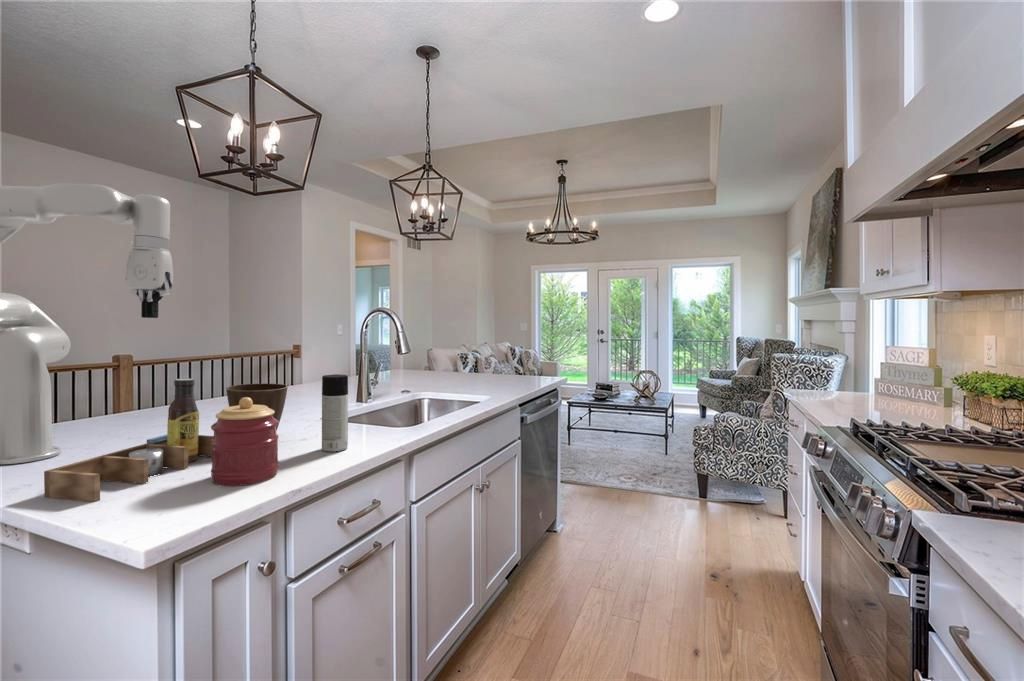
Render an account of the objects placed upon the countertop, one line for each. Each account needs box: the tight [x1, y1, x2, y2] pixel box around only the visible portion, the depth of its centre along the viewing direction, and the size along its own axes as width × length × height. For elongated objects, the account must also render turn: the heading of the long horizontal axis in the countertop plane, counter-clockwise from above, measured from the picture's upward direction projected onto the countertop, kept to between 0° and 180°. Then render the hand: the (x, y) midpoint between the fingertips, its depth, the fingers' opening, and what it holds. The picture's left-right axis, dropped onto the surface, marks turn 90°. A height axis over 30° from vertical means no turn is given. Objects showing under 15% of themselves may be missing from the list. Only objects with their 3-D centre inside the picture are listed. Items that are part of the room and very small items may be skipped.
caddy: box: [43, 434, 214, 503], centre depth 105 cm, size 11×31×6 cm, turn 171°
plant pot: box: [225, 382, 288, 432], centre depth 131 cm, size 15×15×16 cm
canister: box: [210, 397, 280, 487], centre depth 104 cm, size 13×13×18 cm
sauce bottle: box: [166, 378, 200, 463], centre depth 114 cm, size 7×6×20 cm
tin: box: [129, 448, 164, 478], centre depth 104 cm, size 6×6×5 cm
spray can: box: [321, 373, 349, 453], centre depth 127 cm, size 7×7×20 cm
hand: (149, 317), depth 121 cm, fingers closed
